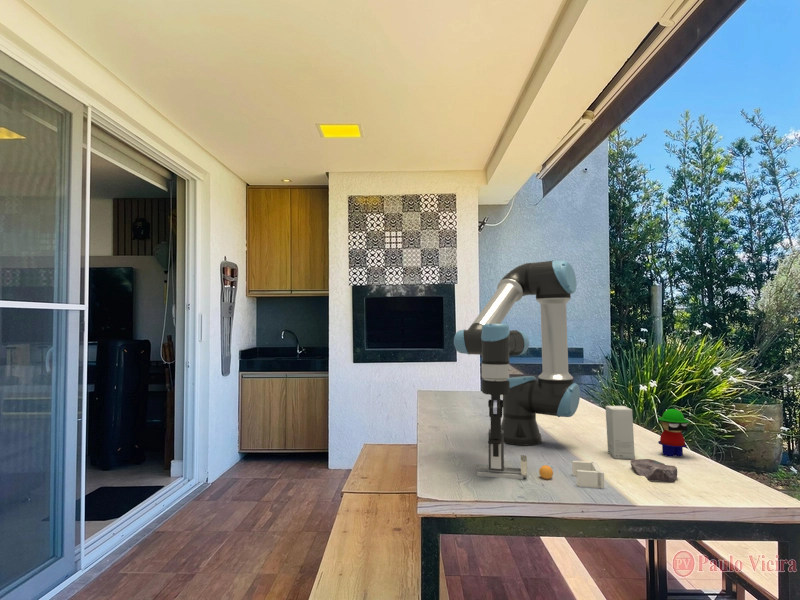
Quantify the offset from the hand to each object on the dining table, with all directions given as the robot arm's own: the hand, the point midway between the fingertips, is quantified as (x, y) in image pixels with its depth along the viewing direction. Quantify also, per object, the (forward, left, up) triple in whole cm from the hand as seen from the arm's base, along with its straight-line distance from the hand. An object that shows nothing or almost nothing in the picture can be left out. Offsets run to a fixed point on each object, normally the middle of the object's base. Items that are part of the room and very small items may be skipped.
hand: (496, 465), depth 124 cm
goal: (+17, +17, -3) cm, 24 cm away
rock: (+22, +38, -4) cm, 44 cm away
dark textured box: (+2, +2, -2) cm, 4 cm away
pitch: (+7, +7, -4) cm, 11 cm away
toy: (+13, +65, -4) cm, 66 cm away
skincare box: (+4, +50, -4) cm, 50 cm away
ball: (+9, +9, -1) cm, 13 cm away
